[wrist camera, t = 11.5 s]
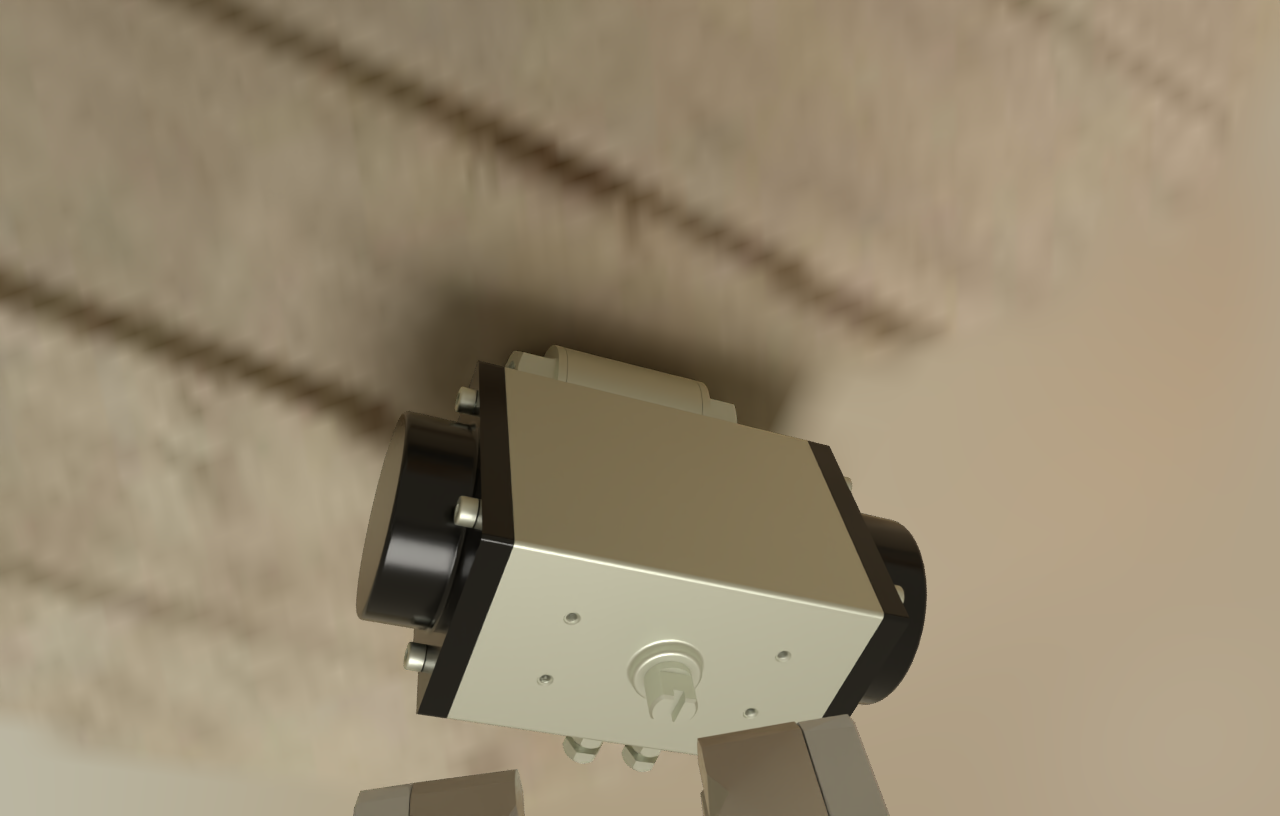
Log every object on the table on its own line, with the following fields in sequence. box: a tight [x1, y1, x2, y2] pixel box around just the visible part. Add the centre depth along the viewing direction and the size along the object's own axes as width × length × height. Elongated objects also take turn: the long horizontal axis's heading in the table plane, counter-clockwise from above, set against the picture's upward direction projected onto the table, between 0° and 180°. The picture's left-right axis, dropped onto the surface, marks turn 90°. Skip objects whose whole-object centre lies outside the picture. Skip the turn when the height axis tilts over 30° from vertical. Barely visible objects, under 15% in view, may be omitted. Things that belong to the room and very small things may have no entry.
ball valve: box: [356, 345, 927, 772], centre depth 41 cm, size 18×8×18 cm, turn 70°
